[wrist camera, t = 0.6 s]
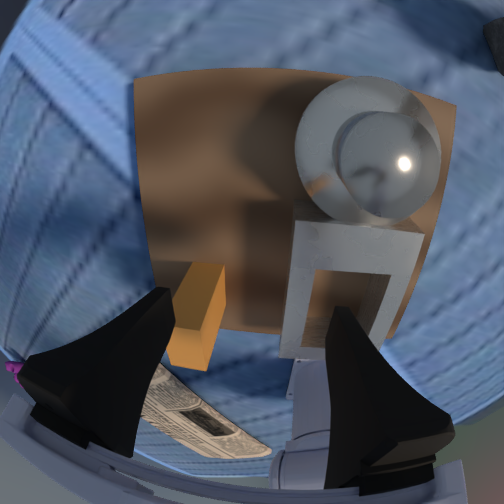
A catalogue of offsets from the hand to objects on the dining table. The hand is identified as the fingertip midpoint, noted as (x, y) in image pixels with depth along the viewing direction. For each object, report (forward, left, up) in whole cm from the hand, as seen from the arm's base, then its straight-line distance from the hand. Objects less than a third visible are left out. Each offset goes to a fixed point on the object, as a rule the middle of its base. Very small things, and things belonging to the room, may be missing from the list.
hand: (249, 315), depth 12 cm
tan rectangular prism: (-5, +4, -9) cm, 11 cm away
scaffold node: (+1, -6, -9) cm, 10 cm away
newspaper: (-35, +14, -11) cm, 39 cm away
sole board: (0, -2, -10) cm, 10 cm away
